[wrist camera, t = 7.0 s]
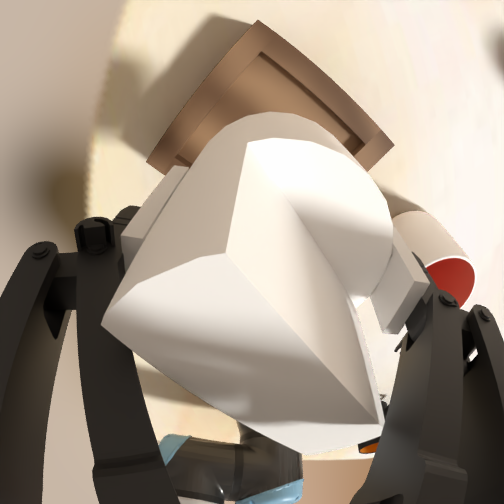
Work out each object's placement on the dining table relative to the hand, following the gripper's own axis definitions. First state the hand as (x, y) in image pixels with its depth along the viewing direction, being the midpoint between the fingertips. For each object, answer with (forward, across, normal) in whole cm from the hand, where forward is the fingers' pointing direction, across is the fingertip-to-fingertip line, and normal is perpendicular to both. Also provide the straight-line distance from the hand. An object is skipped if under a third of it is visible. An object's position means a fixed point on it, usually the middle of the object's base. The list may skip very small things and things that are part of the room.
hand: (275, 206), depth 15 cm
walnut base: (+16, 0, 0) cm, 16 cm away
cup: (+16, -19, +9) cm, 27 cm away
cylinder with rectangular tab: (+2, 0, 0) cm, 2 cm away
